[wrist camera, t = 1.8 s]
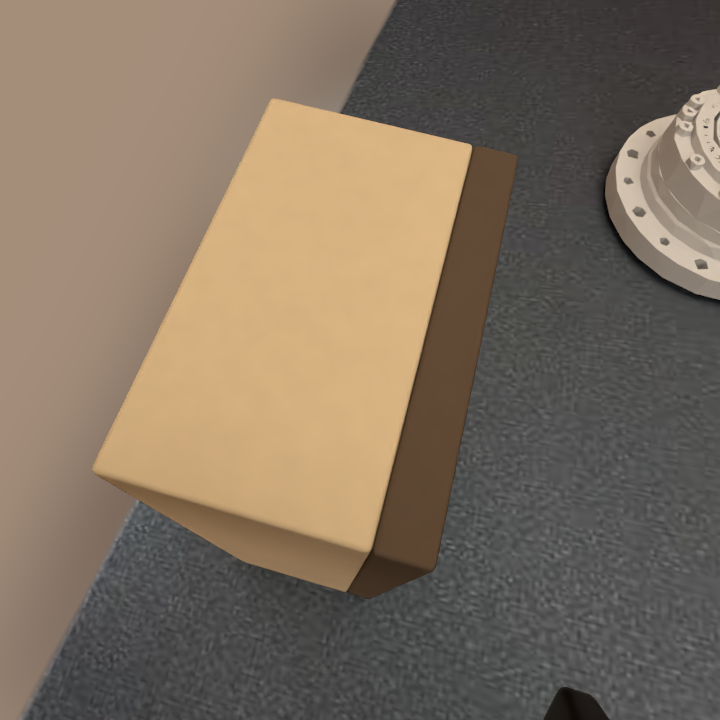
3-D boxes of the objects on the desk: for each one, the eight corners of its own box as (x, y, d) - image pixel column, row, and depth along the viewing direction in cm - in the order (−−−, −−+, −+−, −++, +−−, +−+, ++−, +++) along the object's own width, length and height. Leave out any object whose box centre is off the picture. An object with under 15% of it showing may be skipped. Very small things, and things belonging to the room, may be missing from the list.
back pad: (416, 408, 21) (520, 153, 10) (370, 599, 18) (435, 573, 7) (304, 378, 22) (270, 95, 10) (241, 561, 19) (86, 470, 7)
